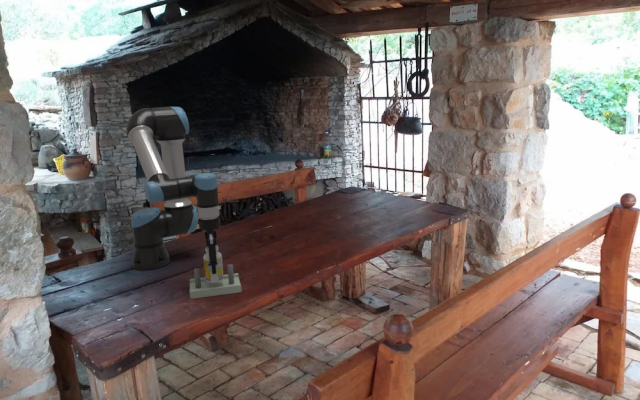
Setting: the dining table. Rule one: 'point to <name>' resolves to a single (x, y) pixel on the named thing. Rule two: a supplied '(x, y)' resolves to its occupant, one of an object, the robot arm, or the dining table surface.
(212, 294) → the tray
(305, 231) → the dining table surface
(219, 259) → the supplement bottle
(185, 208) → the robot arm
